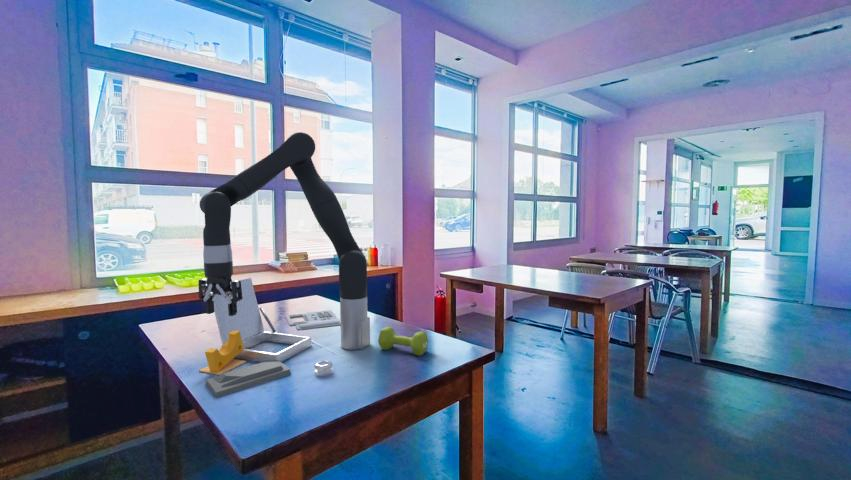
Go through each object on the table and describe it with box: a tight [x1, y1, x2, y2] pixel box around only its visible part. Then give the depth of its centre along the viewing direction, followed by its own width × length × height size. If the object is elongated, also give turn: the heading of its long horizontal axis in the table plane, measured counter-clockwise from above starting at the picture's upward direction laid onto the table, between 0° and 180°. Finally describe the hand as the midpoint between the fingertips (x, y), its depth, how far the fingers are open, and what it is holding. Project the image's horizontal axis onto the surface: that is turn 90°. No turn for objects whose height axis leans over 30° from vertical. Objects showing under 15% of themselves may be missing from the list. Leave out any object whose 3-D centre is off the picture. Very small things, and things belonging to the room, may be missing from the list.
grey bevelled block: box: [204, 360, 292, 398], centre depth 110 cm, size 10×20×4 cm, turn 134°
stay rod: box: [258, 306, 276, 332], centre depth 143 cm, size 7×1×10 cm, turn 70°
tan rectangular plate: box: [198, 358, 247, 376], centre depth 118 cm, size 8×10×1 cm
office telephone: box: [285, 309, 341, 331], centre depth 167 cm, size 23×3×20 cm
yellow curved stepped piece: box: [204, 331, 244, 372], centre depth 119 cm, size 12×4×6 cm, turn 168°
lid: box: [213, 277, 265, 346], centre depth 135 cm, size 20×18×1 cm
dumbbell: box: [377, 326, 429, 357], centre depth 131 cm, size 16×8×7 cm, turn 64°
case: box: [233, 330, 312, 363], centre depth 132 cm, size 20×19×3 cm
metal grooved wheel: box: [314, 360, 334, 377], centre depth 114 cm, size 5×3×5 cm
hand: (221, 314), depth 117 cm, fingers open, 8 cm apart
